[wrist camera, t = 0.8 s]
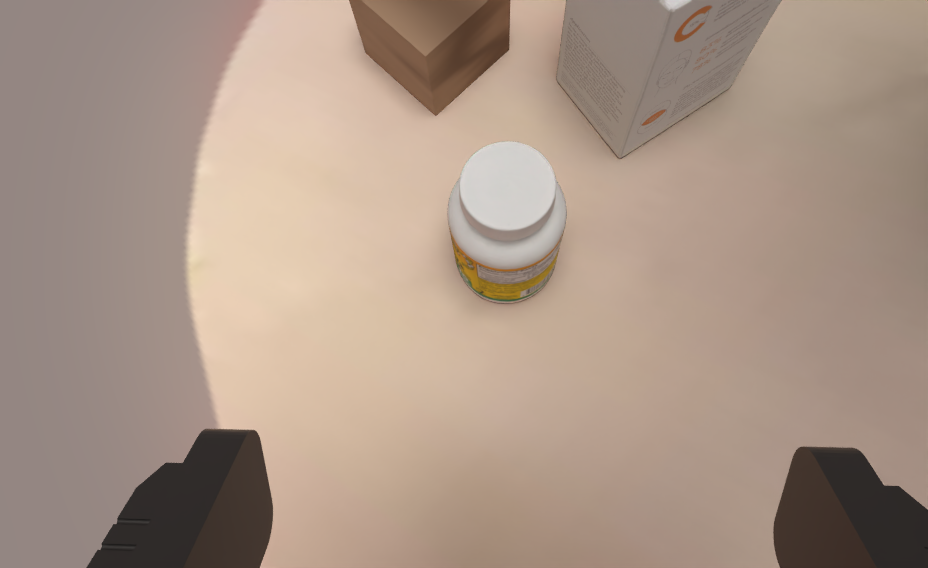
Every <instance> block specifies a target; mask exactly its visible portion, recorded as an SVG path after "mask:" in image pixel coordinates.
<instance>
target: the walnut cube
mask: <svg viewBox="0 0 928 568" xmlns="http://www.w3.org/2000/svg"><path fill="white" fill-rule="evenodd" d="M349 1H350V4H351V8H352V11H353V14H354V17H355V20H356V23H357V27H358V30H359V33H360V36H361V39H362V43H363V46H364V49H365V52H366V54H367V55H369V56H370V57H371V58H372V59H373V60H374V61H375V62H376V63H377V64H379V65H380V66H381V67H382V68H383V69H384V70H385V71H386V72H387V73H389V74H390V75H391V76H392V77H393V78H394V79H395V80H396V81H397V82H399V83H400V84H401V85H402V86H403V87H404V88H405V89H406V90H407V91H409V92H410V93H411V94H412V95H413V96H414V97H415V98H416V99H417V100H419V101H420V102H421V103H422V104H423V105H424V106H425V107H426V108H427V109H429V110H430V111H431V112H432V113H433V114H434V115H435V116H436V115H438V114H439V113H440V112H441V111H442V110H443V109H444V108H445V107H446V106H447V105H449V104H450V103H451V102H452V101H453V100H454V99H455V98H456V97H457V96H459V95H460V94H461V93H462V92H463V91H464V90H465V89H466V88H467V87H468V86H470V85H471V84H472V83H473V82H474V81H475V80H476V79H477V78H478V77H479V76H481V75H482V74H483V73H484V72H485V71H486V70H487V69H488V68H489V67H490V66H492V65H493V64H494V63H495V62H496V61H497V60H498V59H499V58H500V57H501V56H503V55H504V54H505V53H506V52H507V51H508V50H509V28H510V0H349Z"/></svg>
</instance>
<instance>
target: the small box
mask: <svg viewBox="0 0 928 568" xmlns="http://www.w3.org/2000/svg"><path fill="white" fill-rule="evenodd" d="M780 2H781V0H566V7H565V14H564V21H563V29H562V37H561V44H560V53H559V60H558V68H557V76H556V79H557V81H558V83H559V84H560V85H561V87H562V88H563V89H564V90H565V92H566V93H567V94H568V95H569V96H570V98H571V99H572V100H573V102H574V103H575V104H576V105H577V107H578V108H579V109H580V110H581V111H582V113H583V114H584V115H585V116H586V118H587V119H588V120H589V122H590V123H591V124H592V125H593V127H594V128H595V129H596V131H597V132H598V133H599V134H600V135H601V137H602V138H603V139H604V140H605V142H606V143H607V144H608V145H609V146H610V148H611V149H612V150H613V151H614V153H615V154H616V155H617V157H619V158H622V157H623V156H625V155H627V154H628V153H630V152H631V151H633V150H634V149H636V148H638V147H639V146H641V145H642V144H644V143H645V142H647V141H649V140H650V139H652V138H653V137H655V136H656V135H658V134H660V133H661V132H663V131H664V130H666V129H667V128H669V127H670V126H672V125H673V124H675V123H677V122H678V121H680V120H681V119H683V118H684V117H686V116H687V115H689V114H691V113H692V112H694V111H695V110H697V109H698V108H700V107H701V106H703V105H704V104H706V103H707V102H709V101H711V100H712V99H714V98H715V97H717V96H718V95H719V94H721V93H723V92H724V91H726V90H727V89H729V88H730V87H731V86H732V84H733V82H734V80H735V78H736V76H737V75H738V73H739V72H740V70H741V68H742V66H743V65H744V63H745V61H746V60H747V58H748V56H749V54H750V52H751V51H752V49H753V47H754V45H755V44H756V42H757V40H758V39H759V37H760V35H761V34H762V32H763V30H764V28H765V27H766V25H767V23H768V22H769V20H770V18H771V17H772V15H773V13H774V12H775V10H776V9H777V7H778V5H779V4H780Z"/></svg>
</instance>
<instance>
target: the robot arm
mask: <svg viewBox="0 0 928 568" xmlns="http://www.w3.org/2000/svg"><path fill="white" fill-rule="evenodd" d="M272 521H273V504H272V498H271V492H270V487H269V482H268V477H267V472H266V467H265V461H264V456H263V451H262V446H261V441H260V437H259V435H258V433H257V432H256V431H255V430H233V429H205V430H203V431H202V432H201V433H200V434H199V436H198V437H197V439H196V441H195V443H194V444H193V446H192V448H191V450H190V451H189V453H188V455H187V457H186V458H185V460H184V462H183V463H165V464H164V465H163V466H161V467H160V468H159V469H158V470H157V471H156V472H154V473H153V474H152V475H151V476H150V477H149V478H147V479H146V480H145V481H144V482H143V483H142V484H140V485H139V486H138V487H137V488H136V489H135V491H134V492H133V494H132V496H131V497H130V499H129V501H128V502H127V504H126V505H125V507H124V508H123V510H122V512H121V513H120V515H119V517H118V521H117V524H113V526H112V528H111V529H110V531H109V532H108V534H107V536H106V537H105V539H104V541H103V542H102V548H101V550H97V552H96V553H95V555H94V557H93V558H92V560H91V562H90V563H89V565H88V566H87V568H260V565H261V562H262V560H263V557H264V554H265V551H266V549H267V546H268V543H269V539H270V534H271V529H272ZM773 533H774V546H775V552H776V556H777V560H778V563H779V566H780V568H928V510H927V509H926V508H925V507H924V506H922V505H921V504H920V503H919V502H917V501H916V500H915V499H914V498H913V497H911V496H910V495H909V494H908V493H907V492H905V491H904V490H903V489H902V488H900V487H899V486H884V485H883V483H882V482H881V480H880V479H879V477H878V476H877V474H876V473H875V471H874V470H873V468H872V467H871V465H870V464H869V462H868V460H867V459H866V457H865V456H864V455H863V454H862V453H861V452H860V451H859V450H857V449H855V448H836V447H800V448H798V449H797V450H796V452H795V454H794V456H793V459H792V462H791V466H790V469H789V472H788V476H787V479H786V483H785V486H784V490H783V493H782V496H781V500H780V503H779V507H778V510H777V513H776V517H775V521H774V532H773Z"/></svg>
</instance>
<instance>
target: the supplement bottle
mask: <svg viewBox="0 0 928 568" xmlns="http://www.w3.org/2000/svg"><path fill="white" fill-rule="evenodd" d="M566 216H567V211H566V202H565V198H564V194H563V192H562V190H561V187H560V186H559V184H558V182H557V181H556V178H555V174H554V171H553V169H552V167H551V165H550V163H549V162H548V160H547V159H546V158H545V157H544V156H543V155H542V154H541V153H540V152H539V151H537V150H536V149H534V148H532V147H531V146H528V145H526V144H523V143H520V142H513V141H502V142H496V143H493V144H490V145H487V146H485V147H483V148H481V149H480V150H478V151H477V152H475V153H474V154H473V155H472V156H471V157H470V159H469V160H468V161H467V162H466V164H465V166H464V168H463V170H462V172H461V176H460V178H459V179H458V181H457V182H456V184H455V186H454V188H453V190H452V192H451V195H450V198H449V203H448V223H449V229H450V233H451V238H452V243H453V249H454V254H455V259H456V264H457V267H458V270H459V272H460V274H461V276H462V278H463V279H464V281H465V282H466V284H467V285H468V286H469V287H470V289H471V290H472V291H473V292H475V293H476V294H477V295H478V296H480V297H482V298H484V299H486V300H489V301H492V302H497V303H515V302H519V301H522V300H525V299H527V298H530V297H531V296H533V295H534V294H536V293H537V292H538V291H540V290H541V289H542V288H543V287H544V286H545V284H546V283H547V282H548V280H549V279H550V277H551V275H552V272H553V270H554V267H555V264H556V259H557V255H558V251H559V247H560V243H561V240H562V236H563V232H564V228H565V224H566Z"/></svg>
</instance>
